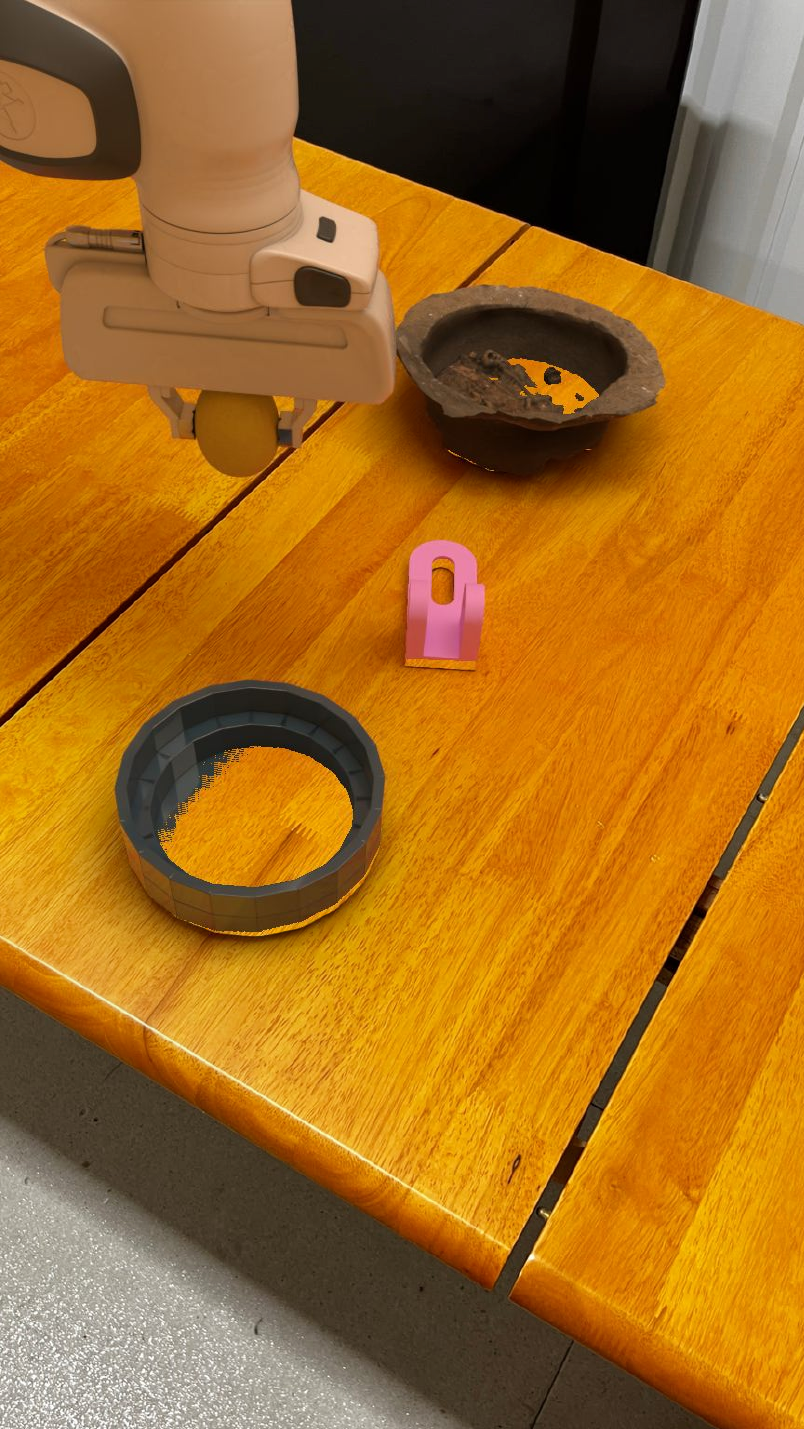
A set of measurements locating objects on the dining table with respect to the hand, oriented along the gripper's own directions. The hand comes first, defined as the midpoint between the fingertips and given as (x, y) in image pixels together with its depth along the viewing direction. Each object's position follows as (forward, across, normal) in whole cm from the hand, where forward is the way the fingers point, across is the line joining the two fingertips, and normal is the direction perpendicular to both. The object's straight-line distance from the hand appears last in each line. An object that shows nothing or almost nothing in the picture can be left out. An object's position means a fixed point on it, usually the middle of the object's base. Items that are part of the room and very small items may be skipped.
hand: (239, 437), depth 80 cm
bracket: (+20, +15, +5) cm, 25 cm away
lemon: (+3, 0, 0) cm, 3 cm away
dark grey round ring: (+20, +2, -18) cm, 27 cm away
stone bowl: (+20, +21, +31) cm, 42 cm away
